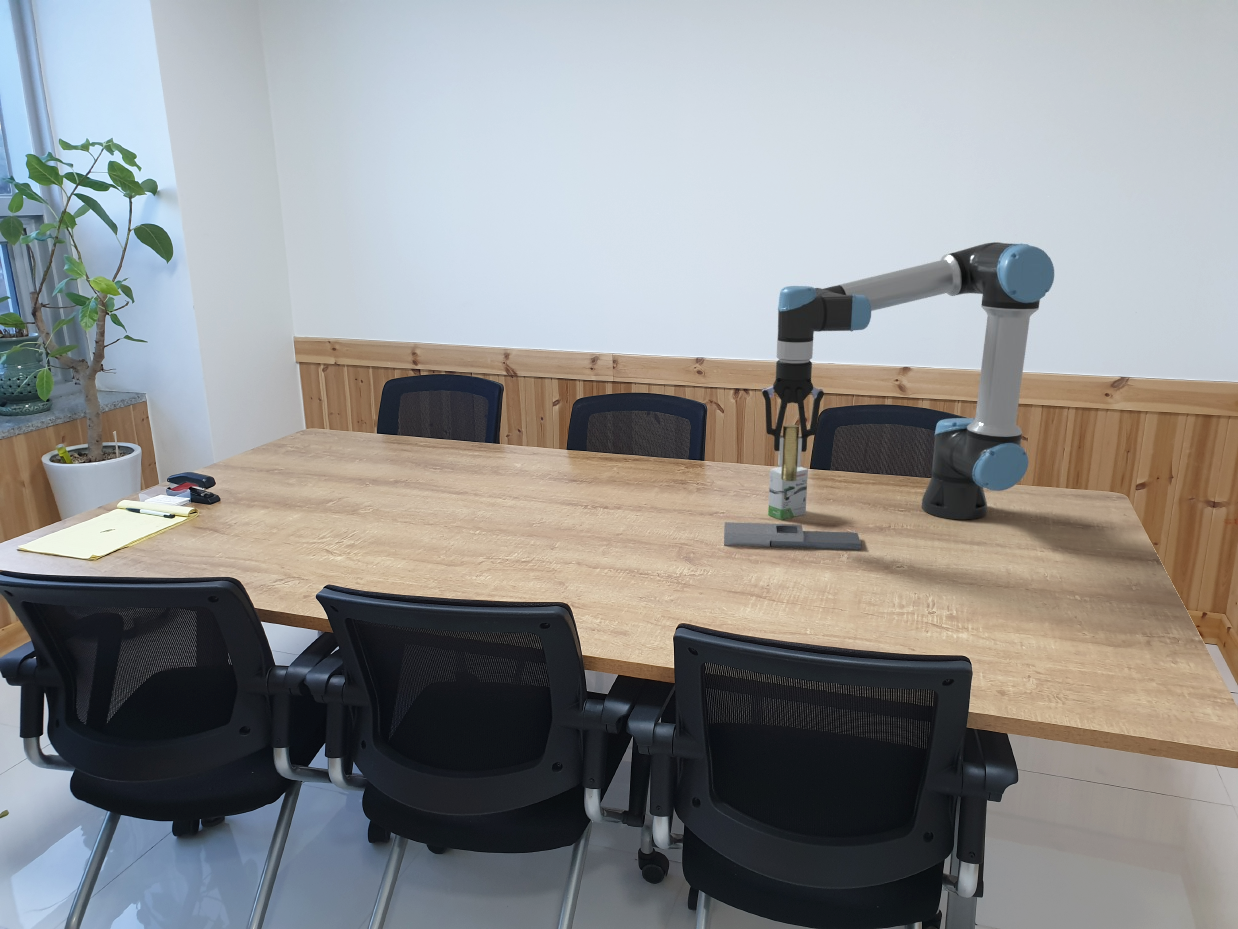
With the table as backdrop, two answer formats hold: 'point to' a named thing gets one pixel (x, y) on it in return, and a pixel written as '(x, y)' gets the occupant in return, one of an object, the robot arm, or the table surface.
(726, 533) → the chain end grey
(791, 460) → the pin
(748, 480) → the table surface
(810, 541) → the chain end dark
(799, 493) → the ink box
